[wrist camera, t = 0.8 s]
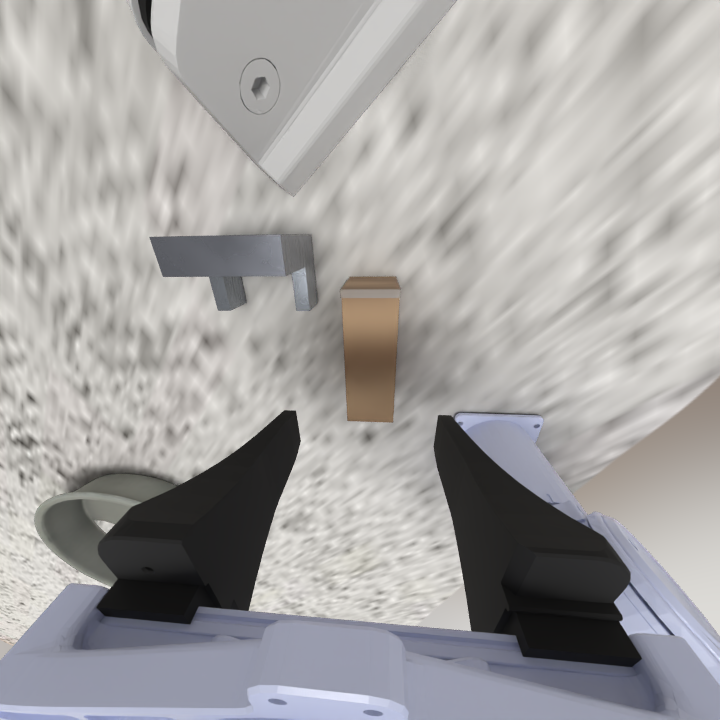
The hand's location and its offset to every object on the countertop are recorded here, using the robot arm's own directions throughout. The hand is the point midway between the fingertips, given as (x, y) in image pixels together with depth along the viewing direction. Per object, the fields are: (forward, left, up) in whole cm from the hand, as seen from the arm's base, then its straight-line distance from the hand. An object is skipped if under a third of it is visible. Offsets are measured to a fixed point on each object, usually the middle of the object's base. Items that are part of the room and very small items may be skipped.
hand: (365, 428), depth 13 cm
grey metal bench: (+6, +8, -10) cm, 15 cm away
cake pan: (-29, +31, -11) cm, 43 cm away
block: (+1, 0, -10) cm, 10 cm away
